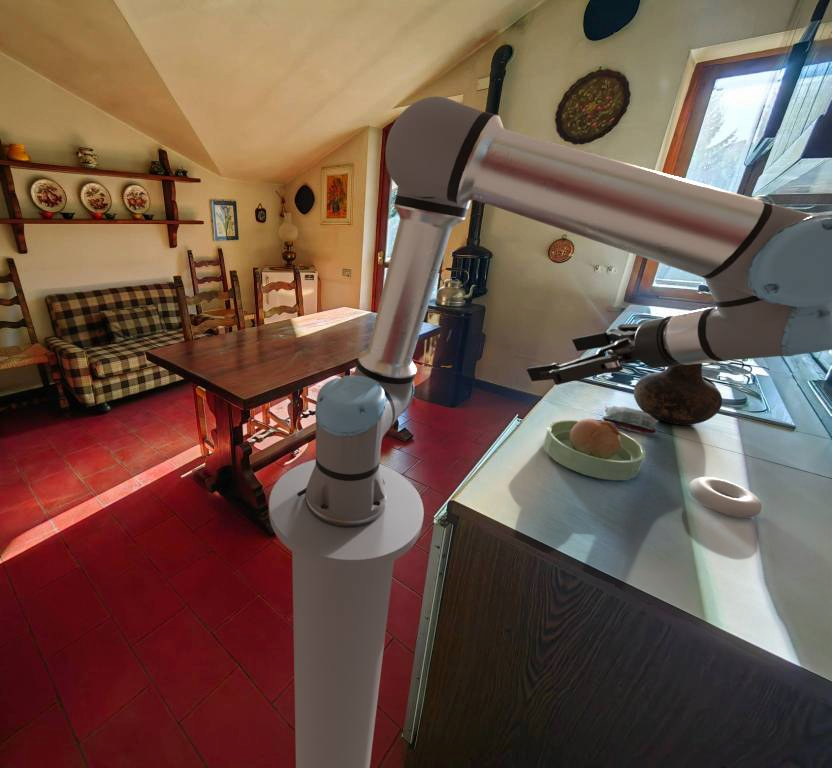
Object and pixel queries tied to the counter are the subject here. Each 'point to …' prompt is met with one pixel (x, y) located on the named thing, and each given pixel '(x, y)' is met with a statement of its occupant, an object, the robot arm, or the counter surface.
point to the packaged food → (631, 419)
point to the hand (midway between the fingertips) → (553, 359)
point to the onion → (595, 438)
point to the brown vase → (678, 395)
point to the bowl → (613, 468)
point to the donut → (725, 497)
